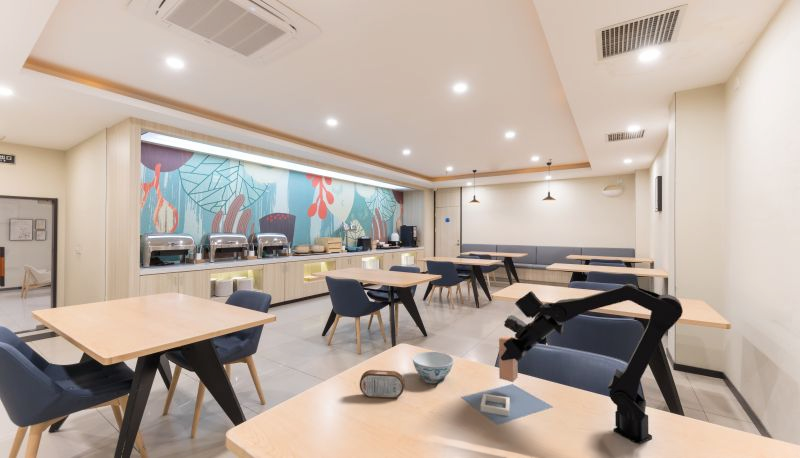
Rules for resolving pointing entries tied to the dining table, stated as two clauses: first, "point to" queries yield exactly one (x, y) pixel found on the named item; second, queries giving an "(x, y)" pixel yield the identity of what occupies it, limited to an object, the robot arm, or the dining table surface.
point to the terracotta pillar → (507, 363)
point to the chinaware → (432, 365)
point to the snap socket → (492, 408)
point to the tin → (382, 384)
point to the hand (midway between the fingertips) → (504, 357)
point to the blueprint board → (519, 403)
